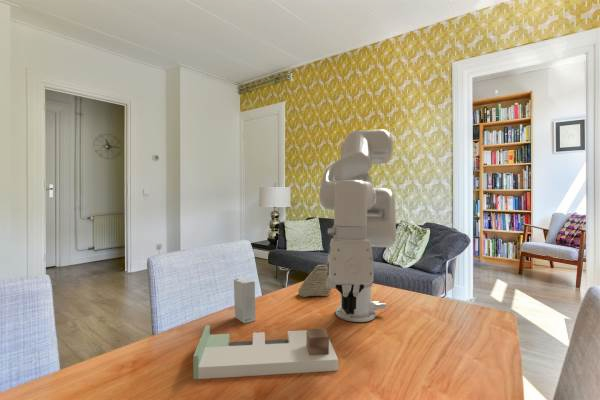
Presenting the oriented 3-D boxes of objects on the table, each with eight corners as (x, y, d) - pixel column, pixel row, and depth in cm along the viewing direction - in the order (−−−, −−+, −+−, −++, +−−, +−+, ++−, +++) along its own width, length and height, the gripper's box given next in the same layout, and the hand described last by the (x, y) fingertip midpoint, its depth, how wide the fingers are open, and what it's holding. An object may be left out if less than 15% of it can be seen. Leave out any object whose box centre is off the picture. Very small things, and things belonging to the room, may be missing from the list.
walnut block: (324, 344, 77) (325, 328, 77) (328, 354, 72) (328, 337, 72) (306, 345, 76) (306, 329, 76) (309, 355, 72) (309, 337, 72)
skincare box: (256, 320, 97) (256, 281, 96) (243, 324, 94) (243, 283, 93) (246, 314, 101) (246, 276, 101) (233, 317, 99) (233, 278, 98)
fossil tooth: (297, 296, 122) (334, 289, 126) (301, 301, 116) (340, 294, 120) (294, 266, 122) (331, 261, 126) (298, 270, 116) (337, 264, 120)
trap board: (324, 338, 85) (324, 320, 85) (338, 370, 70) (338, 348, 70) (205, 344, 82) (205, 325, 81) (193, 379, 67) (193, 356, 67)
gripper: (321, 235, 69) (320, 319, 69) (387, 235, 71) (385, 317, 71) (315, 231, 77) (314, 307, 77) (375, 231, 78) (374, 306, 79)
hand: (348, 312), depth 74 cm, fingers closed
